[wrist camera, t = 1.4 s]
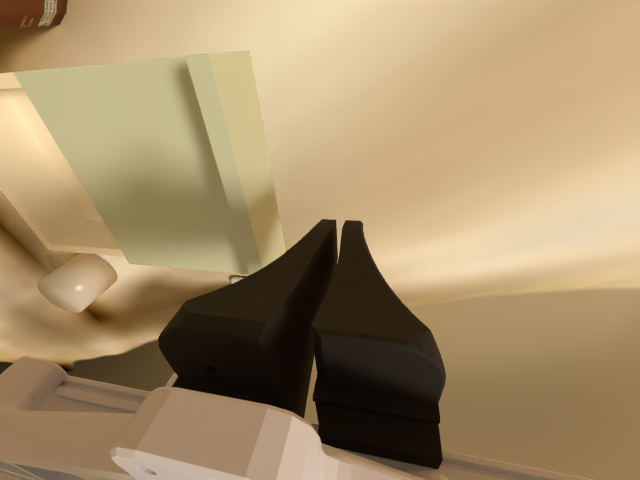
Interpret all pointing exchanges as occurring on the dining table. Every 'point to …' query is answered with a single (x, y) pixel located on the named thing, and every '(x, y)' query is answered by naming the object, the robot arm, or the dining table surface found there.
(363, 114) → the dining table surface
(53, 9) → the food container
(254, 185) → the lid
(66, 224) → the box
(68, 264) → the cream rounded piece
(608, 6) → the dining table surface
